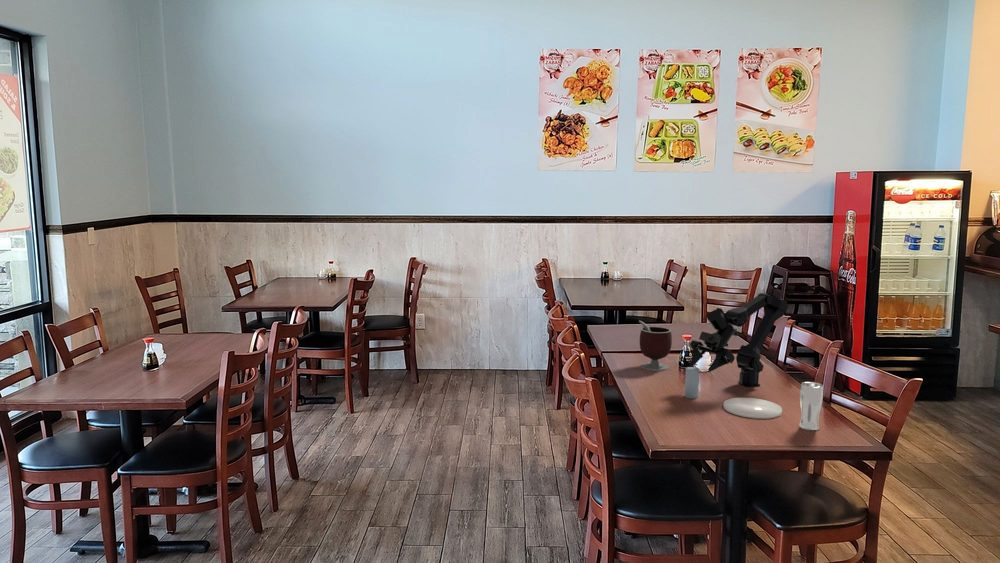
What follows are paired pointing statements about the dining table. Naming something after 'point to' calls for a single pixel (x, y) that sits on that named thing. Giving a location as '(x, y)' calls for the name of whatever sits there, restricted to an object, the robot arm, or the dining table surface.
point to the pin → (692, 382)
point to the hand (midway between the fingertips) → (699, 368)
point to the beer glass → (810, 405)
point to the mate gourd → (655, 346)
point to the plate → (752, 408)
